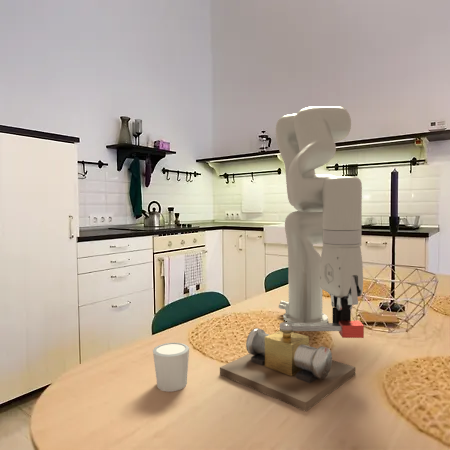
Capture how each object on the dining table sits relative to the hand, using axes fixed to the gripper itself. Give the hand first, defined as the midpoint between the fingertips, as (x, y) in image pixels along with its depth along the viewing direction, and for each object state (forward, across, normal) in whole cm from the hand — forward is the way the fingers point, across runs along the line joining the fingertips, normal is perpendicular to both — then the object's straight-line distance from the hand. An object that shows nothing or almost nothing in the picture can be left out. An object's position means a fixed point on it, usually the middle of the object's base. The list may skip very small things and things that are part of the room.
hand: (341, 326), depth 79 cm
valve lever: (0, +2, -6) cm, 6 cm away
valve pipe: (+7, 0, -12) cm, 14 cm away
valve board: (+9, 0, -12) cm, 15 cm away
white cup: (+9, -1, -35) cm, 36 cm away
